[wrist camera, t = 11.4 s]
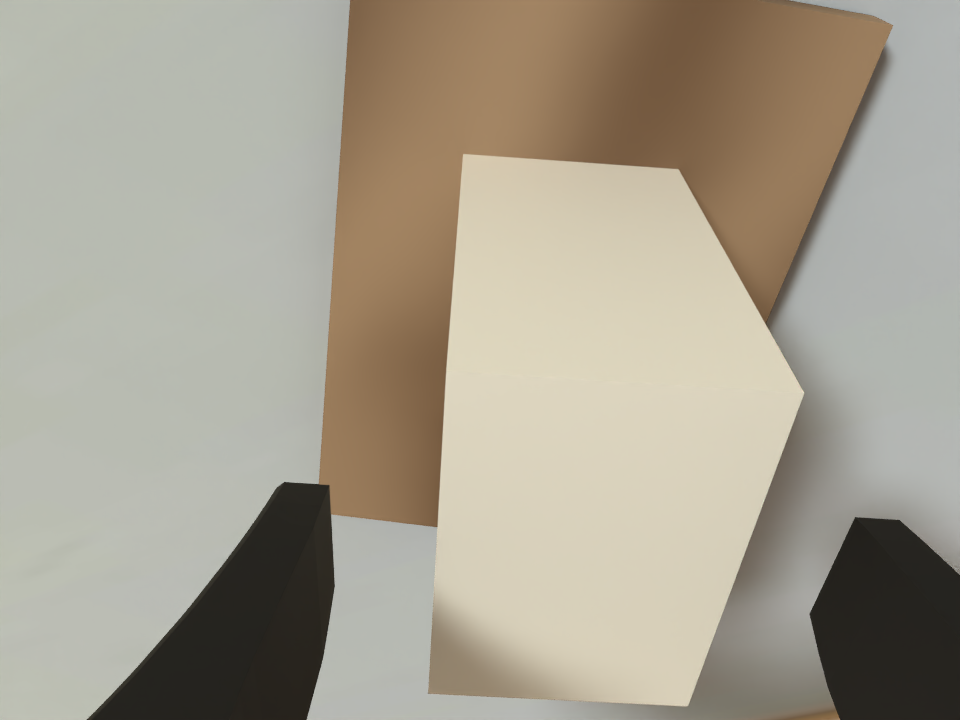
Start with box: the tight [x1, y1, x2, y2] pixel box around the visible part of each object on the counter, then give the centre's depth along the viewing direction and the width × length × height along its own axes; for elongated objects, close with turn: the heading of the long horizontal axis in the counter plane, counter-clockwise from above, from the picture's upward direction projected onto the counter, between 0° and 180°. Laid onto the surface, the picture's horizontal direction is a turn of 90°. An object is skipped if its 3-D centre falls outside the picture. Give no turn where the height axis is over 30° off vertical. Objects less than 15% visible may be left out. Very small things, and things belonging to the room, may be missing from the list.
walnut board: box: [319, 0, 893, 527], centre depth 17 cm, size 9×13×1 cm
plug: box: [428, 154, 804, 706], centre depth 13 cm, size 4×6×7 cm, turn 176°
